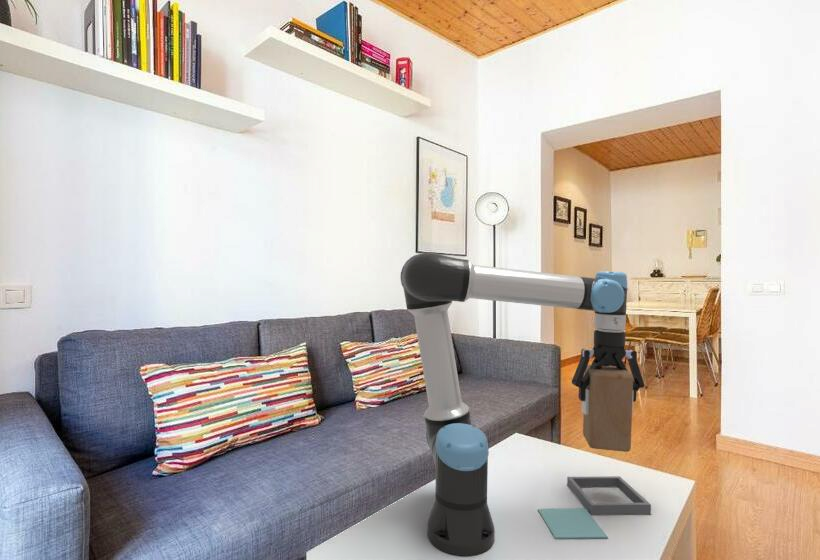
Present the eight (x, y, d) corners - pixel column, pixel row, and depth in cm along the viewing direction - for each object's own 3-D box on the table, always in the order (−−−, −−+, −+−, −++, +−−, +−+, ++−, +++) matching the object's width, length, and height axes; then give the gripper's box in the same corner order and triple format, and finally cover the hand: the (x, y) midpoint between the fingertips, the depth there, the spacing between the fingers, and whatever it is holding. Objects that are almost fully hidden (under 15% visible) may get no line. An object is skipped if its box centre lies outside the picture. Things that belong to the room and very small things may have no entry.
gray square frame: (591, 515, 108) (591, 505, 108) (567, 485, 123) (567, 476, 123) (650, 514, 109) (650, 504, 109) (619, 485, 124) (619, 476, 124)
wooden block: (631, 453, 110) (634, 374, 110) (589, 449, 112) (592, 371, 112) (620, 439, 120) (623, 366, 119) (582, 435, 122) (584, 363, 121)
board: (555, 539, 98) (555, 537, 98) (537, 510, 110) (537, 508, 110) (607, 538, 99) (607, 536, 99) (584, 509, 111) (584, 508, 111)
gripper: (571, 331, 111) (568, 417, 112) (662, 333, 112) (658, 418, 112) (560, 327, 119) (557, 408, 119) (645, 329, 120) (642, 409, 120)
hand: (606, 413), depth 116 cm, fingers closed on wooden block, 11 cm apart
